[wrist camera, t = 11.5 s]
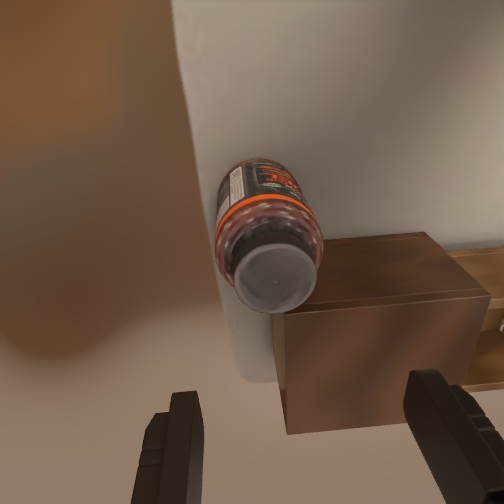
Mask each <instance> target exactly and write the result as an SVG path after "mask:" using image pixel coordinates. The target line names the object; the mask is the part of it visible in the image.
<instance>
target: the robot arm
mask: <svg viewBox="0 0 504 504" xmlns="http://www.w3.org/2000/svg"><path fill="white" fill-rule="evenodd" d="M403 410H404V415H405V418H406V421H407V423H408V425H409V427H410V429H411V431H412V433H413V436H414V438H415V440H416V442H417V444H418V446H419V448H420V450H421V452H422V454H423V456H424V458H425V460H426V462H427V464H428V466H429V468H430V470H431V473H432V475H433V477H434V479H435V481H436V483H437V485H438V487H439V489H440V491H441V493H442V495H443V497H444V499H445V501H446V504H504V440H503V438H502V437H501V436H500V434H499V433H498V431H496V430H495V427H494V426H493V424H492V423H491V422H490V420H489V419H488V418H487V417H486V416H485V413H484V412H483V410H482V409H481V407H480V406H479V404H478V403H477V402H476V400H475V399H474V398H473V397H472V396H471V395H470V394H468V393H467V392H466V391H465V390H464V389H462V388H461V387H460V386H459V385H457V384H455V385H449V384H448V383H447V381H446V380H445V378H444V377H443V375H442V374H441V372H440V371H439V370H438V369H436V368H431V369H421V370H412V371H410V373H409V377H408V381H407V386H406V390H405V395H404V399H403ZM203 453H204V425H203V418H202V413H201V408H200V404H199V398H198V393H197V391H187V392H177V393H173V394H172V396H171V402H170V409H169V412H165V413H164V412H163V413H156V414H155V415H154V417H153V418H152V420H151V422H150V423H149V425H148V427H147V428H146V430H145V435H144V440H143V445H142V452H141V455H140V460H139V467H138V470H137V474H136V480H135V485H134V489H133V494H132V499H131V504H201V494H202V474H203Z"/></svg>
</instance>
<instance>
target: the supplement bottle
mask: <svg viewBox="0 0 504 504" xmlns="http://www.w3.org/2000/svg"><path fill="white" fill-rule="evenodd" d="M322 255H323V237H322V234H321V230H320V228H319V225H318V223H317V221H316V219H315V217H314V215H313V213H312V211H311V209H310V208H309V206H308V204H307V202H306V200H305V198H304V196H303V194H302V192H301V189H300V188H299V186H298V184H297V182H296V181H295V179H294V178H293V176H292V175H291V174H290V172H289V171H288V170H287V169H286V168H284V167H283V166H282V165H280V164H278V163H276V162H273V161H270V160H265V159H254V160H253V159H251V160H248V161H245V162H242V163H240V164H239V165H237V166H235V167H234V168H233V169H232V170H230V171H229V172H228V173H227V175H226V176H225V177H224V179H223V181H222V183H221V185H220V188H219V192H218V199H217V217H216V233H215V257H216V262H217V265H218V268H219V271H220V272H221V274H222V276H223V277H224V278H225V280H226V281H227V282H228V283H229V284H230V285H231V286H232V287H234V288H235V291H236V293H237V295H238V297H239V299H240V300H241V301H242V302H243V303H244V304H245V305H246V306H248V307H249V308H251V309H253V310H255V311H259V312H262V313H267V314H273V313H274V314H276V313H283V312H286V311H290V310H292V309H294V308H296V307H298V306H299V305H301V304H302V303H303V302H305V301H306V300H307V299H308V297H309V296H310V295H311V293H312V292H313V290H314V288H315V285H316V281H317V269H318V267H319V265H320V263H321V259H322Z"/></svg>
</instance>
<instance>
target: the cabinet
mask: <svg viewBox="0 0 504 504" xmlns="http://www.w3.org/2000/svg"><path fill="white" fill-rule="evenodd" d="M491 297H492V295H491V294H490V293H489V292H488V291H487V290H486V289H484V287H483V286H482V285H481V284H480V283H479V282H477V281H476V280H475V279H474V278H473V277H472V276H471V275H470V274H469V273H468V272H467V271H466V270H465V269H464V268H463V267H461V266H460V265H459V264H458V263H457V262H456V261H455V260H454V259H453V258H452V257H451V256H450V255H449V254H448V253H447V252H445V251H444V250H443V249H442V248H441V247H440V246H439V245H438V244H437V243H436V242H435V241H434V240H433V239H432V238H431V237H429V236H428V235H427V234H426V233H425V232H418V233H406V234H395V235H383V236H372V237H360V238H348V239H337V240H325V241H323V255H322V259H321V263H320V265H319V267H318V269H317V281H316V285H315V288H314V290H313V292H312V293H311V295H310V296H309V297H308V299H307V300H306V301H305V302H303V303H302V304H301V305H299V306H298V307H296V308H294V309H292V310H290V311H286V312H283V313H276V314H274V313H273V314H272V330H273V352H274V358H275V365H276V371H277V377H278V383H279V389H280V395H281V401H282V407H283V414H284V420H285V425H286V432H287V435H292V434H302V433H311V432H321V431H331V430H340V429H351V428H360V427H371V426H381V425H390V424H400V423H407V421H406V418H405V415H404V410H403V399H404V395H405V390H406V386H407V381H408V377H409V373H410V371H412V370H421V369H431V368H436V369H438V370H439V371H440V372H441V374H442V375H443V377H444V378H445V380H446V381H447V383H448V384H449V385H455V384H457V385H459V386H460V387H461V388H462V385H463V382H464V379H465V376H466V373H467V370H468V367H469V364H470V361H471V358H472V355H473V352H474V349H475V346H476V343H477V340H478V337H479V334H480V331H481V328H482V325H483V322H484V319H485V316H486V313H487V310H488V307H489V303H490V300H491Z"/></svg>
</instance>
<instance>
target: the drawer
mask: <svg viewBox="0 0 504 504" xmlns="http://www.w3.org/2000/svg"><path fill="white" fill-rule="evenodd" d="M447 253H448V254H449V255H450V256H451V257H452V258H453V259H454V260H455V261H456V262H457V263H458V264H459V265H460V266H461V267H463V268H464V269H465V270H466V271H467V272H468V273H469V274H470V275H471V276H472V277H473V278H474V279H475V280H476V281H477V282H479V283H480V284H481V285H482V286H483V287H484V289H486V290H487V291H488V292H489V293H490V294H491V295H492V297H491V300H490V303H489V307H488V310H487V313H486V316H485V319H484V322H483V325H482V328H481V331H480V334H479V337H478V340H477V343H476V346H475V349H474V352H473V355H472V358H471V361H470V364H469V367H468V370H467V373H466V376H465V379H464V382H463V385H462V389H464V390H465V391H466V392H467V393H469V392H479V391H489V390H499V389H504V327H503V330H502V332H501V331H500V330H499V329H500V326H501V324H502V321H503V318H504V247H496V248H484V249H473V250H461V251H450V252H447Z"/></svg>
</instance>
